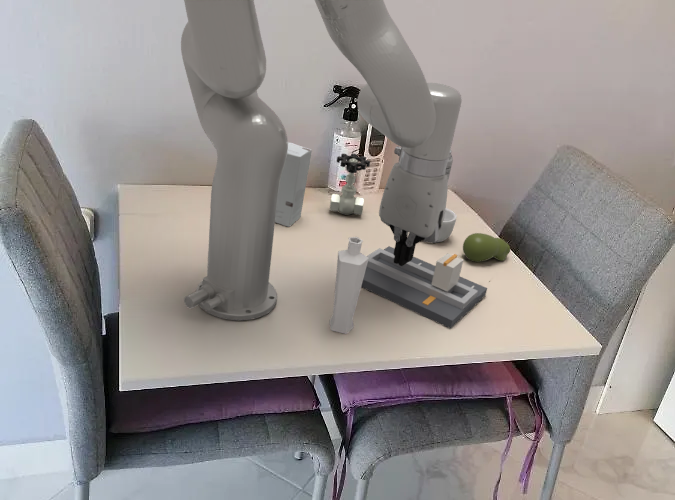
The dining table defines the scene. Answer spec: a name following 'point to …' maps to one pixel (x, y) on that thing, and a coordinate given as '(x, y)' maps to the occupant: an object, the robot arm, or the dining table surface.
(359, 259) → the perfume bottle
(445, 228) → the teacup
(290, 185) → the skincare box
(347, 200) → the valve
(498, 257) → the pear
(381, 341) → the dining table surface
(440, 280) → the fader
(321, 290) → the dining table surface
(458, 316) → the console
